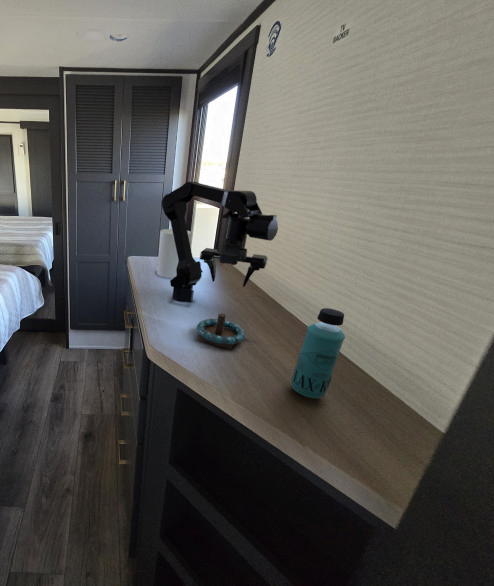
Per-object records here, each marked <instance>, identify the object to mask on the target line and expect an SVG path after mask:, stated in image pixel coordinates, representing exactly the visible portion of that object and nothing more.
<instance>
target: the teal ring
mask: <svg viewBox="0 0 494 586" xmlns="http://www.w3.org/2000/svg"><path fill="white" fill-rule="evenodd" d="M217 319H218V318H207V319H202V320H200V321H199V322H198V324H196V327H195V329H196V331H197V333H198V336H199V335H200V336H202V337H204V338H205V339H207V340H209V341H212V342H215V343H219V344H233V345H235V344H239V343H242V342H243V341H244V340H245V337H246V335H247V333H246V332H245V331H246V330H244V329H243V328H242V327H241V326H240V325H238V324H237V323H235V322H233V321H230V320H226V319H225V323H224V328H226V329H229V330H233V331H235V332H236V333H237V335H236V336H233V337H221V336H218V335H214V334H211V333H209V332H207V331H206V330H205V329H204V328H205V327H206V326H210V325H213V326H216V325H217Z"/></svg>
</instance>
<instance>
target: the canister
mask: <svg viewBox="0 0 494 586" xmlns="http://www.w3.org/2000/svg"><path fill="white" fill-rule="evenodd" d="M187 232H188V237H189V242H190V243H191V241H192V240H191V238H192V231H190V230H187ZM158 245H159V246H158V255H157V256H158V257H157V266H156V267H157V269H156V274H157V276H159V277H160V278H161V277H162V278H164V279H170V280H172V279H173V278H174V277H176V276H177V272H176V269H177V265H178V261H179V260H178V255H177V250H176V245H175V241H174V236H173V231H172V228H165V229H161V230H160V232H159V243H158Z"/></svg>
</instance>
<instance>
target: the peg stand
mask: <svg viewBox="0 0 494 586" xmlns="http://www.w3.org/2000/svg"><path fill="white" fill-rule="evenodd" d="M226 317H227V315H226V314H225V313H221V312H219V313H218V314H217V318H216V319H217V325H216V326H215V325H210V326H206V327H204V329H205V330H206V331H207V332H209V333H211V334H214V335H218V336H221V337H233V336H236V335H237V333H236V332H235V331H233V330H231V329H230V328H226V327H224V323H225V320H226ZM197 341H199V342H202V343H205V344H210V345H214V346H217V347H220V348H224V349H228V350H232V349H233V347H234V344H219V343H215V342H212V341H209V340H207V339H205V338H204V337H202V336H200V335H199V334H198V339H197Z"/></svg>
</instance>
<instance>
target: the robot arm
mask: <svg viewBox="0 0 494 586" xmlns="http://www.w3.org/2000/svg"><path fill="white" fill-rule="evenodd" d="M194 197H197V198H201V199H205V200H207V201H211V202H215V203H218V204H220V205H222V207H224V208H225V209H226V210H227V212H225V213H224V214H223V215H222V216H221V217H222V219H227V220H228V222H227V229H226V235H225V241H224V244H223V246H222V248H221V251H220V252H218V249H217V248H209V247H205V248H204V249H203V250H201V251H200V253H199V260H198V261H197V260H195V258H194V256H193V252H192V247H191V241H190V242H189V237H188V232H187V231H188V227H187V223H186V218H185V217H186V214H187V209H188V205H187V204H188V203H190V202H191V201H192V200H193V198H194ZM257 200H258V199H257V195H256V193H255V192H254V191H252V190H239V189H238V190H236V189H235V190H233V189H232V190H231V189H224V188H220V187H216V186H212V185H208V184H204V183H200V182H198V181H186V182H185V183H183V184H182V185H181V186H179V187H178V188H176V189H174V190H172V191H171V192H169V193H166V194H165V195H163V197H162V200H161V207H162V210H163V213H164V215H165V216H166V218H167V219H168V220H169V221H170V225H171V226H170V227H171V229H172V231H173V236H174V241H175V245H176V250H177V255H178V260H179V261H178V265H177V269H176V272H177V276H176V277H174V278H173V279H170V280H169V283H170V287H172V288H173V289H172V296H171V297H172V300H174V301H176V302H180V303H192V302H193V300H194V293H195V290H194V286H196V285H197V284H198V282H200V280H201V278H202V273H203V270H202V268H201V267H202V263H201V262H200V260H201V261H203V263H205V264H207V266H208V269H209V271H210V272H209V273H210V276H211V281H212V283H213V282H215V280H216V276H217V275H216V274H217V265H218V264H217V263H218V259H219V263H220V264H223V265H225V264H227V265H232V266H236V265H237V264H238V262H239V263H244V264H245V263H246V264H249V266H248V268H247V271H246V274H245V277H244V280H243V284H242V287H243V288H245V287H246V285H247V284H248V282H249V280H250V278H251V276H253V274H254V273H255V271H256V272H258V271H260V269H261V270H263V269H265V268H266V266H267V265H268V264H267V263H268V259H269V258H268V256H267V255H264V254H255V253H254V254H253V255H252V256H248V248H246V244H247V239H248V237H249V238H253V239H259V240H262V241H263V240H264V241H270V242H271V241H272V240H274V239H275V237H277V234H278V230H279V226H278V225H279V224H278V221H277V214H263V212H262V210H261V207H260V206H259V203H258V202H257Z"/></svg>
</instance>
